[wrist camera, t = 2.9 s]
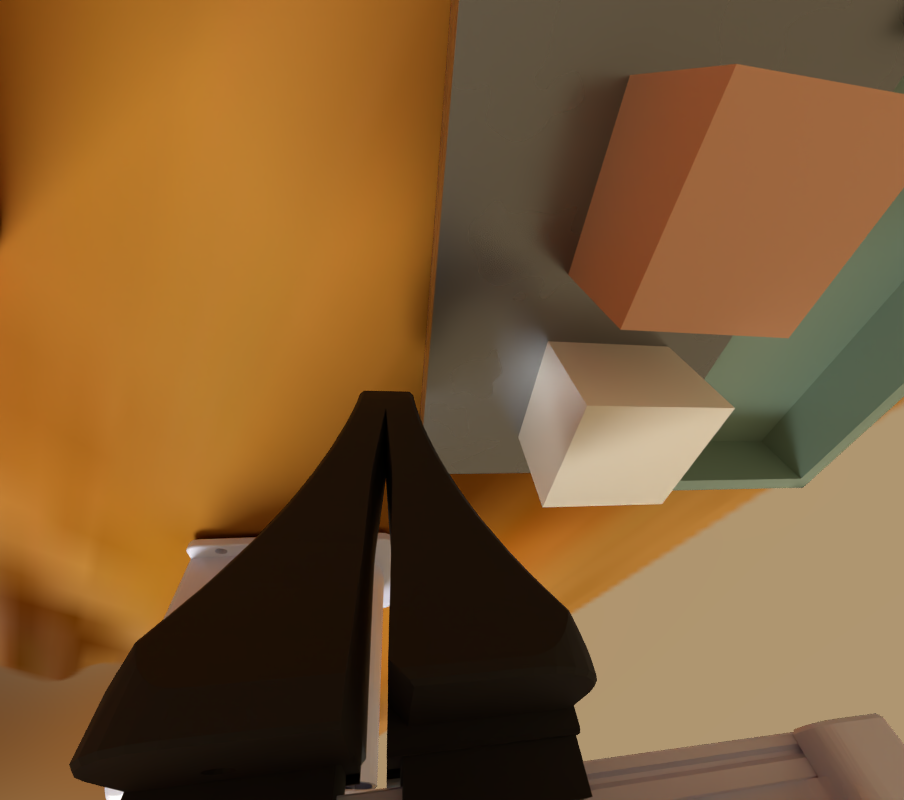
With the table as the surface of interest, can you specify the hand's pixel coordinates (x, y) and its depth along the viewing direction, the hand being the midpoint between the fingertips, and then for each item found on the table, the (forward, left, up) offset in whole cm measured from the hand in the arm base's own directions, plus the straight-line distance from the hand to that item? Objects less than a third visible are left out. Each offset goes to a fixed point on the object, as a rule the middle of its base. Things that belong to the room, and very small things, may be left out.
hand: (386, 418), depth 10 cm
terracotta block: (+7, +6, -1) cm, 9 cm away
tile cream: (+7, 0, -1) cm, 7 cm away
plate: (+6, +3, -3) cm, 7 cm away
